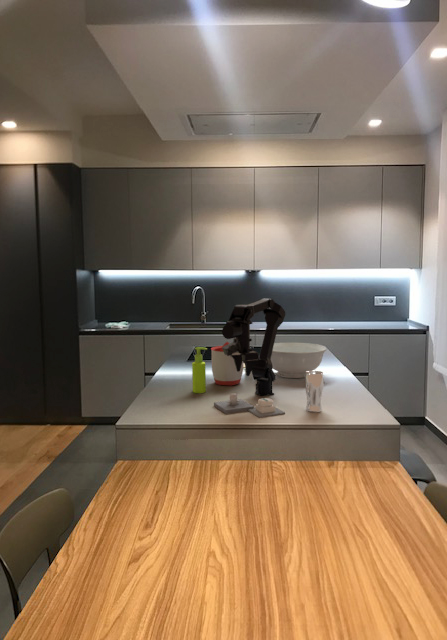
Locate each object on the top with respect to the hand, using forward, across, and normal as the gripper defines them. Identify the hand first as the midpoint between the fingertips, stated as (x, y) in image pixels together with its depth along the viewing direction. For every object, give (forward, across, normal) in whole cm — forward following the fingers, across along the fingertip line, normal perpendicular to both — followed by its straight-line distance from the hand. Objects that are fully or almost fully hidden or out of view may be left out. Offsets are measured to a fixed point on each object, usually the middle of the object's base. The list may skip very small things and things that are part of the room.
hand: (243, 373), depth 208 cm
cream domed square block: (+11, +16, +2) cm, 20 cm away
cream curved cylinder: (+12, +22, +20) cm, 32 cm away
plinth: (+12, +6, -7) cm, 15 cm away
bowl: (+12, -35, +45) cm, 58 cm away
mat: (+12, +16, +2) cm, 20 cm away
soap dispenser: (+12, -24, -10) cm, 29 cm away
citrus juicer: (+12, -34, +8) cm, 37 cm away
